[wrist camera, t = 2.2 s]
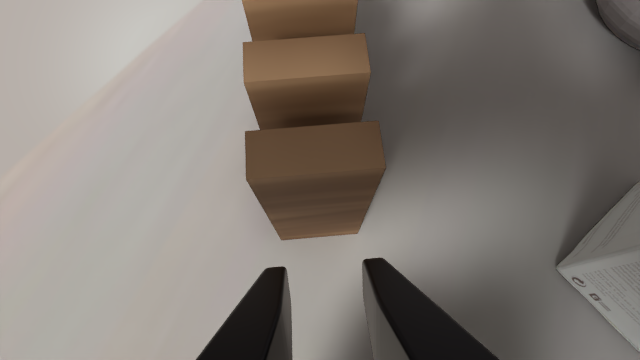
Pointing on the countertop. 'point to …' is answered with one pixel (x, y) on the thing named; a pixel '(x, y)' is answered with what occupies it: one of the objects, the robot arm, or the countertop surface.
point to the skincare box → (611, 266)
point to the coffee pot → (622, 19)
